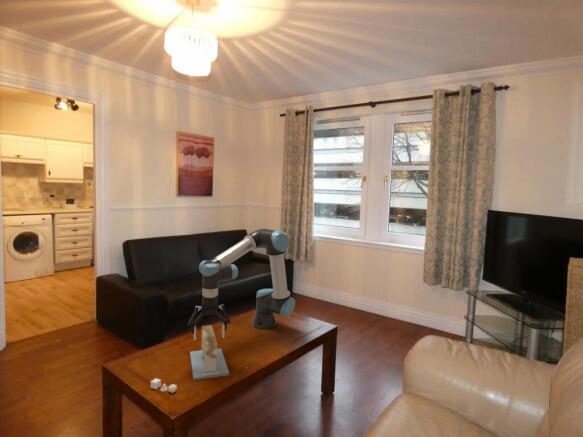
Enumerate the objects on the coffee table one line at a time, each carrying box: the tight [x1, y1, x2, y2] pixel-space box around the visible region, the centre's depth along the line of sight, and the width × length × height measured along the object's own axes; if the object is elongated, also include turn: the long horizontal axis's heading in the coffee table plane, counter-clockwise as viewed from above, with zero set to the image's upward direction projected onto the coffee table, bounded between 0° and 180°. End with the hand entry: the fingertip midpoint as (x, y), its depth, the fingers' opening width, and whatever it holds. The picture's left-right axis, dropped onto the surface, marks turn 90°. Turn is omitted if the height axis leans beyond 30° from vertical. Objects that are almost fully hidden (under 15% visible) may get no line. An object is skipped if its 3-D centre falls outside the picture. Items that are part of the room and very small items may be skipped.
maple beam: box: [201, 324, 218, 359], centre depth 170 cm, size 5×22×7 cm, turn 19°
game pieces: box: [150, 378, 178, 394], centre depth 148 cm, size 12×3×3 cm, turn 70°
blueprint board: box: [189, 342, 230, 381], centre depth 171 cm, size 16×26×8 cm, turn 20°
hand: (209, 338), depth 170 cm, fingers open, 13 cm apart
